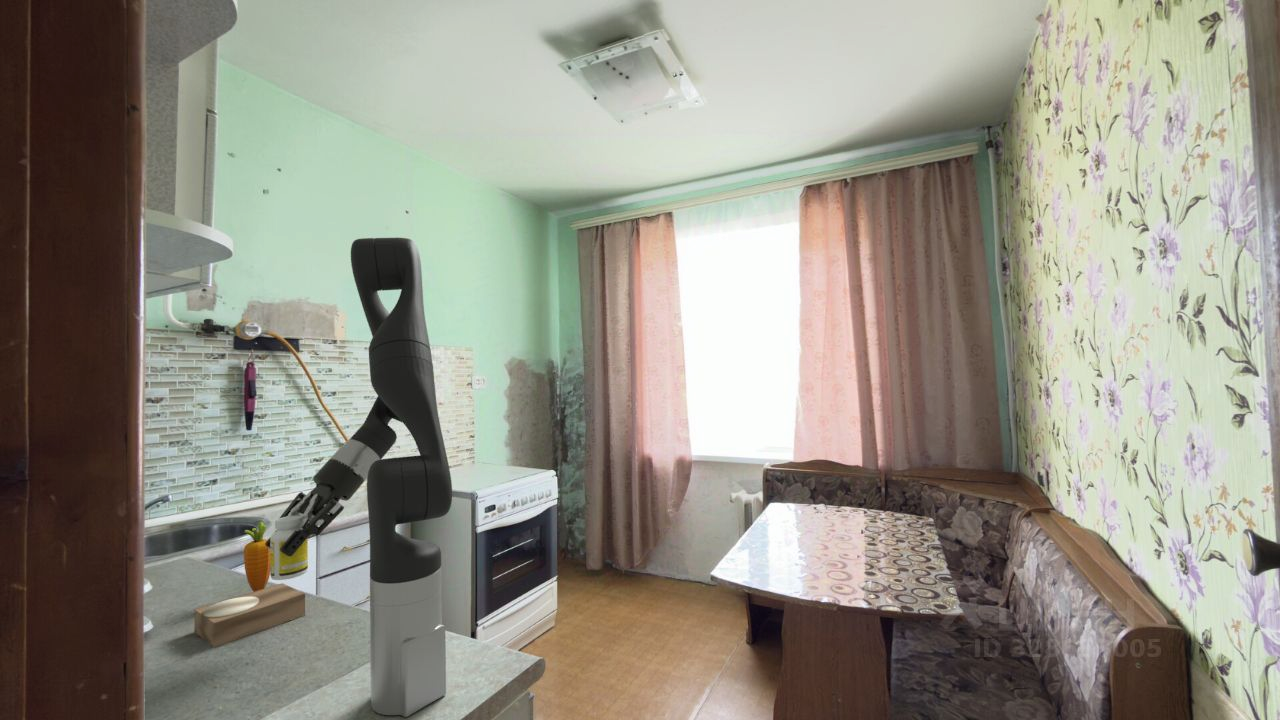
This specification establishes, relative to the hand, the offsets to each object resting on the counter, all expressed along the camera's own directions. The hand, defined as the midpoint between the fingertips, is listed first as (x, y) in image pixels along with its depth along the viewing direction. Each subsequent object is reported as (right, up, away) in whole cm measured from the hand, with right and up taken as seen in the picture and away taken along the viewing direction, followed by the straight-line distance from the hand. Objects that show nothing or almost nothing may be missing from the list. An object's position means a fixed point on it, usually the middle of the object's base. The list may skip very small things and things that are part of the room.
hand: (277, 550), depth 89 cm
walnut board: (-10, -16, +7) cm, 20 cm away
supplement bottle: (+1, -5, +1) cm, 5 cm away
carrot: (-18, -17, +20) cm, 32 cm away
